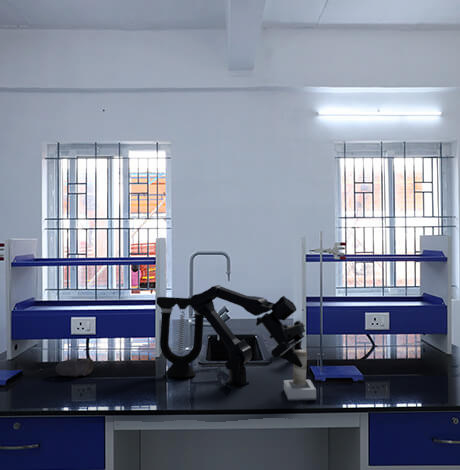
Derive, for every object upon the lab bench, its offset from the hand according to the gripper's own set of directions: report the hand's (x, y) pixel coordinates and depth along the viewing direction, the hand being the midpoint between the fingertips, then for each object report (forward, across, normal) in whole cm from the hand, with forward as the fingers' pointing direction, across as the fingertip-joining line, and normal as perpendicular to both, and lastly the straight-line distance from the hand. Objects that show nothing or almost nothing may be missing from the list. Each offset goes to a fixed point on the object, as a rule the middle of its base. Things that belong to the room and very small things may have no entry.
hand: (303, 364), depth 143 cm
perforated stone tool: (-50, -21, +74) cm, 92 cm away
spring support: (-26, -3, +45) cm, 52 cm away
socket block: (+7, 0, +8) cm, 11 cm away
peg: (+4, 0, +6) cm, 7 cm away
